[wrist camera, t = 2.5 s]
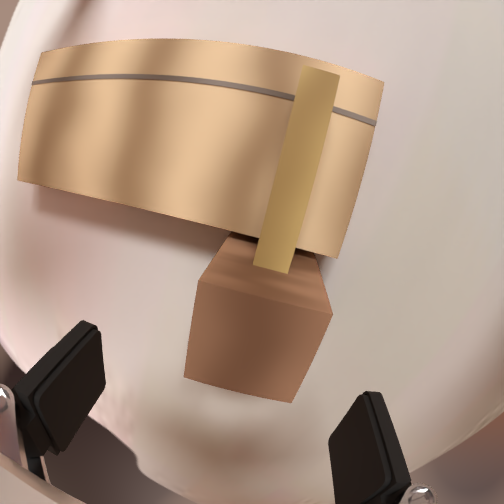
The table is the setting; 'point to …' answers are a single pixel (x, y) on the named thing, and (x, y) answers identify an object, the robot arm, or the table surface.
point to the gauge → (269, 274)
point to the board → (192, 132)
